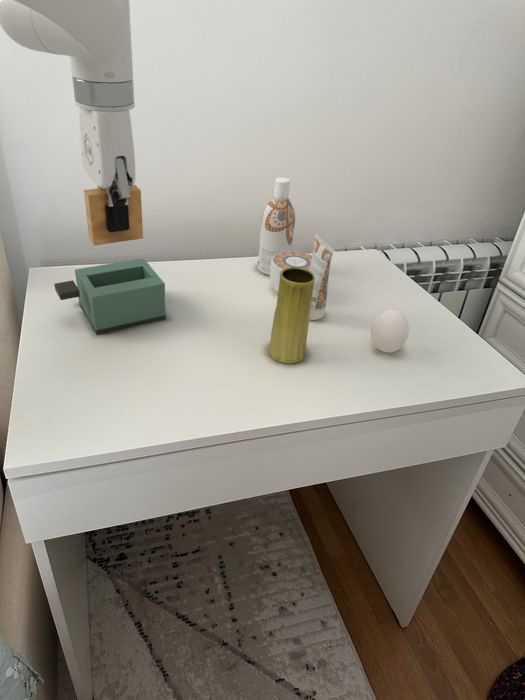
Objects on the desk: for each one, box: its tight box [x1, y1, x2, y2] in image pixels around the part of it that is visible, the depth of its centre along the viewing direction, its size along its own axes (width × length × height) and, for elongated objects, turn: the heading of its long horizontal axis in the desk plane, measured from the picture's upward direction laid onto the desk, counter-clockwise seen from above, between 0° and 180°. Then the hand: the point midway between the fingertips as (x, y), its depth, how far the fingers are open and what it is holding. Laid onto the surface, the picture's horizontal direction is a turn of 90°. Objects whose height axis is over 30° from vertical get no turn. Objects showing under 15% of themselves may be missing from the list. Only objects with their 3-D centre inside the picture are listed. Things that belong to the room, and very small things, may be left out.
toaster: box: [74, 257, 167, 335], centre depth 91 cm, size 12×10×7 cm
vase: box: [267, 267, 315, 365], centre depth 83 cm, size 6×6×14 cm
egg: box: [370, 309, 410, 353], centre depth 88 cm, size 6×6×8 cm
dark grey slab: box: [53, 280, 80, 301], centre depth 85 cm, size 3×4×1 cm
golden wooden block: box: [83, 184, 144, 246], centre depth 79 cm, size 8×2×8 cm, turn 120°
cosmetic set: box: [257, 176, 334, 321], centre depth 98 cm, size 25×9×19 cm, turn 22°
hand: (115, 225), depth 80 cm, fingers closed on golden wooden block, 2 cm apart
